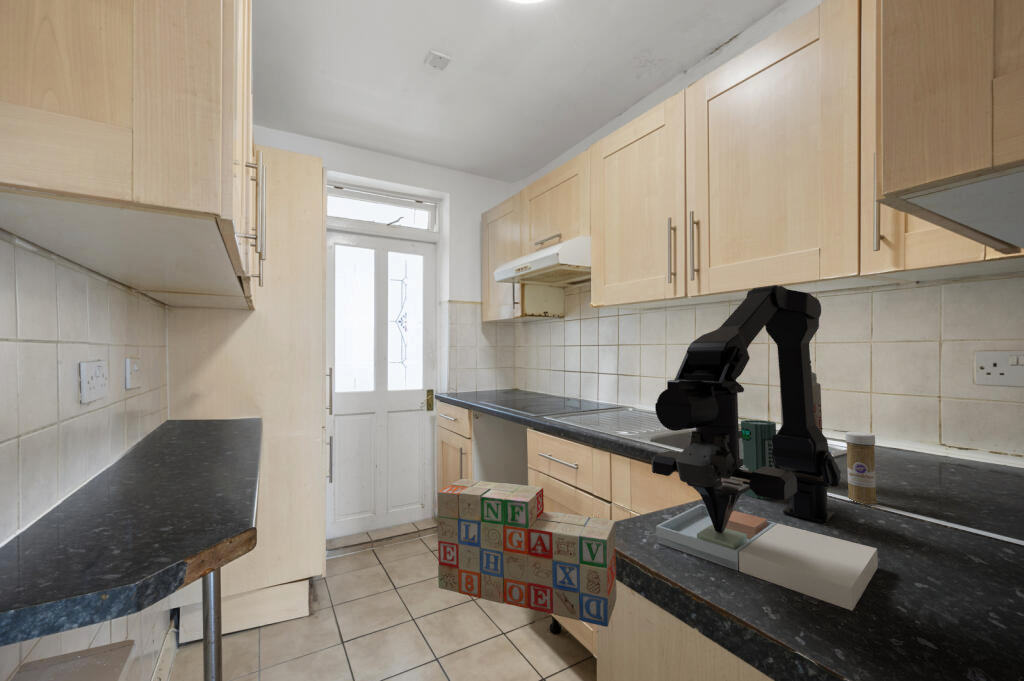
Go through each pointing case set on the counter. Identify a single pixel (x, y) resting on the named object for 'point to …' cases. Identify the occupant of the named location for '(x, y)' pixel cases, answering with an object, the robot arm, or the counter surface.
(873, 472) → the sprinkles bottle
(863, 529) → the counter surface
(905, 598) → the counter surface
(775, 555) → the board
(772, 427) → the can
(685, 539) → the box
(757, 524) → the tile terracotta
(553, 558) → the stack of blocks
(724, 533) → the tile sage
